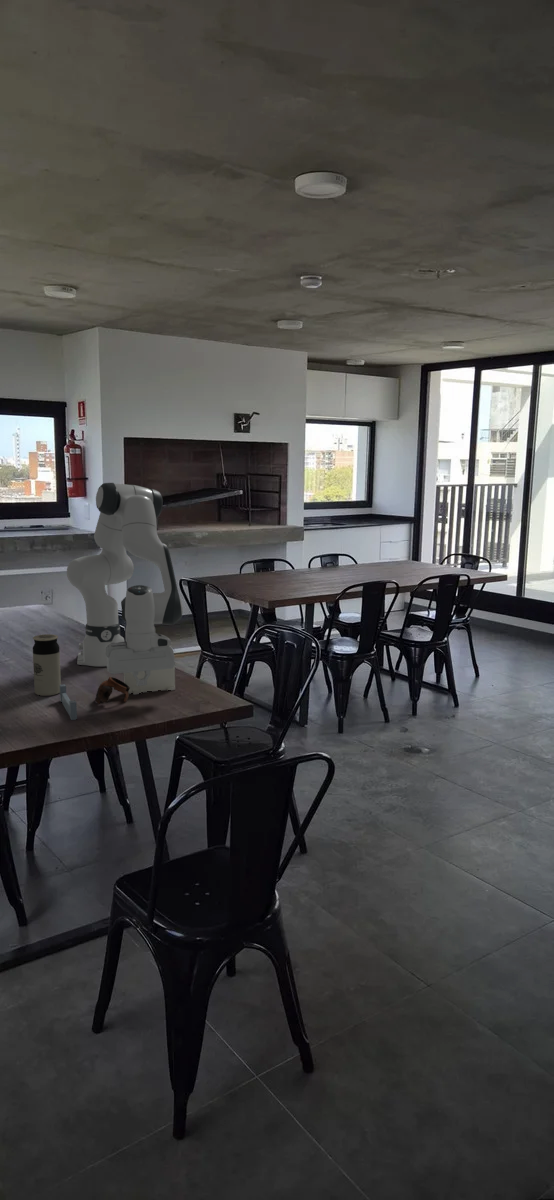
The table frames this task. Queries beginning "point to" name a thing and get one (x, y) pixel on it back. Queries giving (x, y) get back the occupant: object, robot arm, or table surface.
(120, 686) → the pottery mug
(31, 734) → the table surface
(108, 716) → the table surface
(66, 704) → the handle
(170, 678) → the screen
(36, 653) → the travel mug
